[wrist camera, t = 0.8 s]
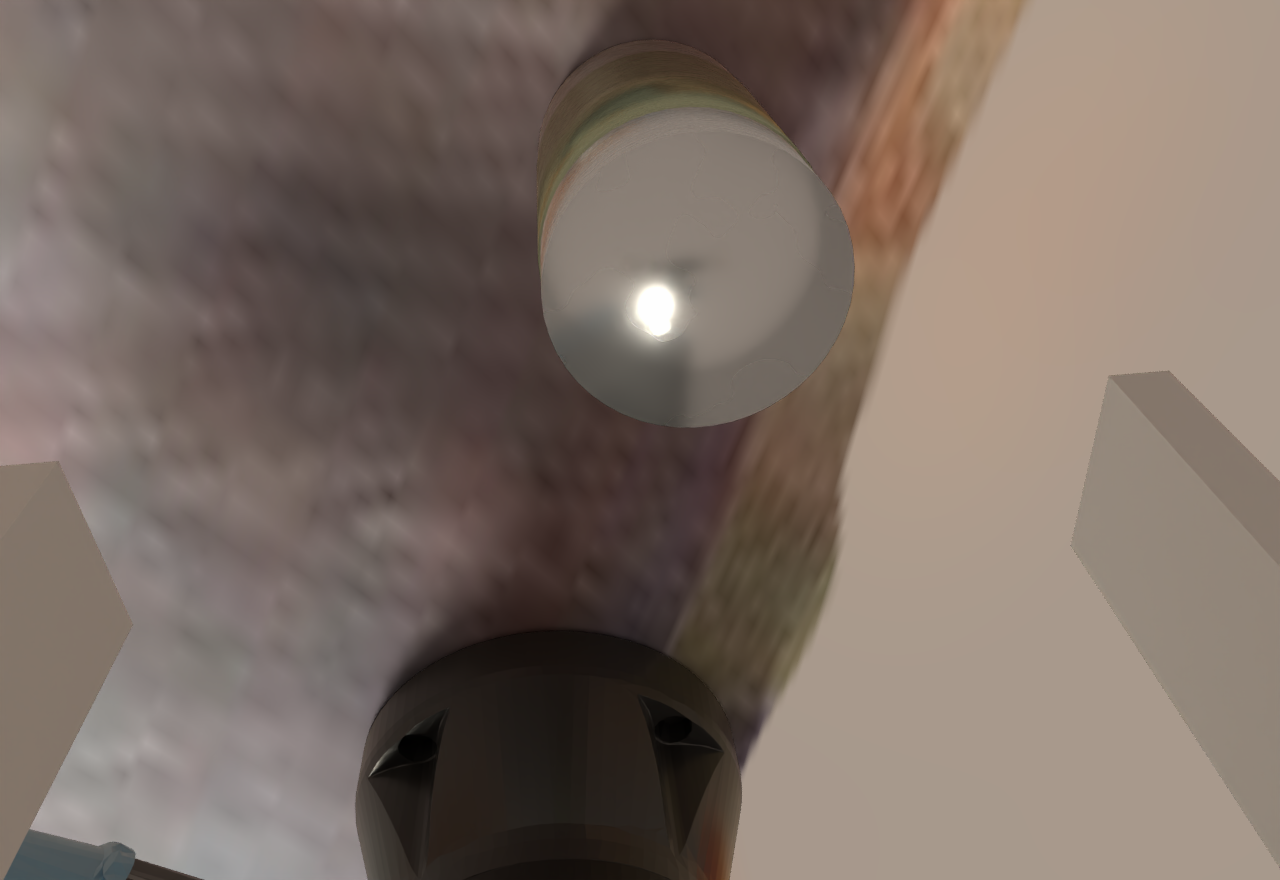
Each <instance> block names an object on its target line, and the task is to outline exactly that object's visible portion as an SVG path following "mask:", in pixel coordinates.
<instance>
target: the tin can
mask: <svg viewBox="0 0 1280 880" xmlns="http://www.w3.org/2000/svg"><path fill="white" fill-rule="evenodd" d="M537 231H538V265H539V273H540V280H541V299H542V307H543V315H544V319H545V323H546V327H547V330H548V334H549V337H550V339H551V341H552V343H553V346H554V348H555V350H556V352H557V354H558V356H559V357H560V359H561V361H562V362H563V364H564V366H565V367H566V369H567V370H568V371H569V372H570V373H571V375H572V376H573V377H574V378H575V380H576V381H577V382H578V383H579V384H580V385H581V386H582V387H583V388H585V389H586V390H587V391H588V392H589V393H590V394H591V395H592V396H594V397H595V398H597V399H598V400H599V401H601V402H602V403H604V404H605V405H607V406H608V407H610V408H612V409H614V410H616V411H618V412H620V413H622V414H624V415H626V416H629V417H632V418H634V419H637V420H640V421H643V422H647V423H652V424H656V425H661V426H669V427H688V428H696V427H705V426H715V425H719V424H724V423H728V422H733V421H736V420H739V419H742V418H744V417H747V416H750V415H753V414H755V413H757V412H759V411H761V410H763V409H765V408H767V407H769V406H771V405H773V404H774V403H776V402H778V401H779V400H781V399H782V398H784V397H786V396H787V395H788V394H789V393H791V392H792V391H793V390H794V389H796V388H797V387H798V386H800V385H801V384H802V383H803V382H804V381H805V380H806V379H807V378H808V377H809V376H810V375H811V374H812V373H813V372H814V371H815V370H816V368H817V367H818V366H819V365H820V363H821V362H822V361H823V360H824V358H825V357H826V356H827V354H828V353H829V351H830V349H831V348H832V346H833V344H834V343H835V341H836V340H837V337H838V335H839V333H840V331H841V329H842V327H843V324H844V322H845V319H846V316H847V313H848V310H849V307H850V303H851V297H852V292H853V286H854V267H855V266H854V255H853V246H852V242H851V238H850V234H849V229H848V226H847V224H846V221H845V219H844V216H843V214H842V211H841V209H840V207H839V206H838V204H837V202H836V201H835V199H834V197H833V196H832V194H831V192H830V191H829V190H828V189H827V187H826V186H825V185H824V184H823V182H822V181H821V180H820V179H819V177H818V176H817V175H816V174H815V172H814V171H813V169H812V167H811V166H810V164H809V162H808V161H807V160H806V159H805V157H804V156H803V155H802V154H801V152H800V151H799V150H798V149H797V147H796V146H795V145H794V144H793V143H792V142H791V140H790V139H789V138H788V137H787V136H786V135H785V133H784V132H783V131H782V130H781V129H780V128H779V126H778V125H777V124H776V123H775V122H774V121H773V119H772V118H771V117H770V116H769V115H768V113H767V112H766V111H765V110H764V109H763V108H762V106H761V105H760V104H759V103H758V102H757V101H756V99H755V98H754V97H753V96H752V95H751V94H750V92H749V91H748V90H747V89H746V88H745V87H744V86H743V85H742V84H741V83H740V82H739V81H738V80H737V79H736V78H735V77H733V75H732V74H731V73H730V72H729V71H728V70H727V69H725V68H724V67H723V66H722V65H721V64H720V63H719V62H717V61H716V60H714V59H713V58H712V57H710V56H709V55H707V54H705V53H703V52H701V51H699V50H697V49H695V48H693V47H690V46H687V45H684V44H681V43H677V42H672V41H667V40H639V41H632V42H628V43H623V44H619V45H617V46H614V47H611V48H609V49H606V50H604V51H602V52H600V53H598V54H597V55H595V56H593V57H591V58H590V59H589V60H587V61H586V62H584V63H583V64H582V65H580V66H579V67H578V68H577V69H576V70H575V71H574V72H573V73H572V74H571V75H570V76H569V77H568V78H567V79H566V80H565V82H564V83H563V84H562V85H561V87H560V88H559V89H558V91H557V92H556V94H555V96H554V97H553V99H552V101H551V102H550V105H549V107H548V109H547V112H546V114H545V116H544V120H543V123H542V127H541V130H540V137H539V143H538V160H537Z"/></svg>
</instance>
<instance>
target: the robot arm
mask: <svg viewBox="0 0 1280 880" xmlns="http://www.w3.org/2000/svg"><path fill="white" fill-rule="evenodd" d="M1071 547H1072V549H1073V550H1074V552H1075V553H1076V555H1077V556H1078V558H1079V559H1080V561H1081V562H1082V564H1083V566H1084V567H1085V568H1086V570H1087V572H1088V573H1089V575H1090V576H1091V578H1092V579H1093V581H1094V582H1095V584H1096V586H1097V587H1098V589H1099V590H1100V592H1101V593H1102V595H1103V596H1104V598H1105V599H1106V601H1107V603H1108V604H1109V606H1110V607H1111V609H1112V610H1113V612H1114V613H1115V615H1116V616H1117V618H1118V619H1119V621H1120V623H1121V624H1122V626H1123V627H1124V629H1125V630H1126V632H1127V633H1128V635H1129V636H1130V638H1131V640H1132V641H1133V643H1134V644H1135V646H1136V647H1137V649H1138V650H1139V652H1140V653H1141V655H1142V656H1143V658H1144V660H1145V661H1146V663H1147V664H1148V666H1149V667H1150V669H1151V670H1152V672H1153V673H1154V675H1155V677H1156V678H1157V679H1158V681H1159V683H1160V684H1161V686H1162V687H1163V689H1164V690H1165V692H1166V693H1167V695H1168V697H1169V698H1170V700H1171V701H1172V703H1173V704H1174V706H1175V707H1176V709H1177V710H1178V712H1179V714H1180V715H1181V717H1182V718H1183V720H1184V721H1185V723H1186V724H1187V725H1188V727H1189V729H1190V730H1191V732H1192V734H1193V735H1194V736H1195V738H1196V740H1197V741H1198V743H1199V744H1200V746H1201V747H1202V749H1203V751H1204V752H1205V753H1206V755H1207V757H1208V758H1209V760H1210V761H1211V763H1212V764H1213V766H1214V767H1215V769H1216V771H1217V772H1218V774H1219V775H1220V777H1221V778H1222V780H1223V781H1224V783H1225V784H1226V786H1227V788H1228V789H1229V790H1230V792H1231V794H1232V795H1233V797H1234V798H1235V800H1236V801H1237V803H1238V804H1239V806H1240V807H1241V809H1242V811H1243V812H1244V814H1245V815H1246V817H1247V818H1248V820H1249V821H1250V823H1251V824H1252V826H1253V827H1254V829H1255V831H1256V832H1257V834H1258V835H1259V837H1260V838H1261V840H1262V841H1263V843H1264V845H1265V846H1266V848H1267V849H1268V851H1269V852H1270V854H1271V855H1272V857H1273V858H1274V860H1275V861H1276V863H1277V865H1278V866H1279V868H1280V481H1279V480H1278V479H1277V478H1276V477H1275V476H1274V475H1273V474H1272V473H1271V472H1270V471H1269V470H1268V469H1267V468H1266V467H1264V465H1263V464H1262V463H1261V462H1260V461H1259V460H1258V459H1257V458H1256V457H1254V455H1253V454H1252V453H1251V452H1250V451H1249V450H1248V449H1247V448H1246V447H1245V446H1244V445H1243V444H1242V443H1241V442H1240V441H1239V440H1238V439H1237V438H1236V437H1235V436H1234V435H1233V434H1232V433H1231V432H1230V431H1229V430H1228V429H1227V428H1226V427H1225V426H1224V425H1223V424H1222V423H1221V422H1220V421H1219V420H1218V419H1216V417H1214V415H1212V413H1211V412H1210V411H1209V410H1208V409H1207V408H1205V406H1204V405H1203V404H1202V403H1201V402H1199V400H1198V399H1197V398H1195V396H1194V395H1193V394H1192V393H1191V392H1190V391H1189V390H1188V389H1186V387H1185V386H1184V385H1183V384H1182V383H1181V382H1180V381H1179V380H1177V378H1176V377H1175V376H1174V375H1173V374H1172V373H1171V372H1170V371H1161V372H1148V373H1136V374H1124V375H1111V376H1109V377H1108V382H1107V387H1106V390H1105V395H1104V399H1103V404H1102V408H1101V413H1100V417H1099V421H1098V426H1097V431H1096V435H1095V439H1094V444H1093V448H1092V452H1091V457H1090V461H1089V466H1088V470H1087V475H1086V479H1085V483H1084V488H1083V492H1082V497H1081V501H1080V506H1079V510H1078V515H1077V519H1076V523H1075V528H1074V533H1073V537H1072V541H1071ZM132 626H133V624H132V621H131V619H130V617H129V615H128V613H127V610H126V608H125V606H124V604H123V602H122V599H121V597H120V595H119V593H118V591H117V588H116V586H115V584H114V582H113V580H112V577H111V575H110V573H109V571H108V569H107V566H106V564H105V562H104V560H103V558H102V555H101V553H100V551H99V549H98V547H97V545H96V542H95V540H94V538H93V536H92V534H91V531H90V529H89V527H88V525H87V523H86V520H85V518H84V516H83V514H82V512H81V509H80V507H79V505H78V503H77V501H76V498H75V496H74V494H73V492H72V490H71V487H70V485H69V483H68V481H67V479H66V476H65V474H64V472H63V470H62V468H61V466H60V463H59V461H56V462H44V463H32V464H20V465H7V466H0V880H203V879H200V878H197V877H193V876H190V875H187V874H184V873H180V872H177V871H174V870H171V869H167V868H164V867H161V866H158V865H155V864H151V863H148V862H145V861H142V860H138V859H135V852H134V850H132V849H131V848H129V847H127V846H125V845H123V844H122V843H118V842H109V843H106V844H103V845H100V846H95V845H91V844H87V843H83V842H79V841H75V840H71V839H67V838H63V837H59V836H55V835H51V834H47V833H43V832H39V831H35V830H31V829H29V828H30V826H31V824H32V822H33V821H34V819H35V817H36V815H37V813H38V811H39V809H40V807H41V805H42V803H43V801H44V799H45V797H46V795H47V793H48V791H49V789H50V787H51V785H52V783H53V781H54V779H55V777H56V775H57V773H58V771H59V769H60V767H61V765H62V763H63V761H64V759H65V758H66V756H67V754H68V752H69V750H70V748H71V746H72V744H73V742H74V740H75V738H76V736H77V734H78V732H79V730H80V728H81V726H82V724H83V722H84V720H85V718H86V716H87V714H88V712H89V710H90V708H91V706H92V704H93V702H94V700H95V698H96V696H97V695H98V693H99V691H100V689H101V687H102V685H103V683H104V681H105V679H106V677H107V675H108V673H109V671H110V669H111V667H112V665H113V663H114V661H115V659H116V657H117V655H118V653H119V651H120V649H121V647H122V645H123V643H124V641H125V639H126V637H127V635H128V634H129V632H130V630H131V628H132ZM741 803H742V784H741V774H740V769H739V764H738V760H737V755H736V751H735V746H734V742H733V737H732V732H731V729H730V726H729V722H728V720H727V717H726V715H725V713H724V711H723V709H722V707H721V706H720V704H719V702H718V701H717V699H716V698H715V697H714V695H713V694H712V693H711V691H710V690H709V689H708V688H707V687H706V686H705V685H704V684H703V683H702V682H701V681H700V680H699V679H698V678H697V677H696V676H695V675H694V674H692V673H691V672H690V671H689V670H687V669H686V668H684V667H683V666H682V665H680V664H679V663H677V662H675V661H674V660H672V659H670V658H669V657H667V656H665V655H663V654H661V653H659V652H657V651H655V650H652V649H650V648H647V647H645V646H642V645H639V644H636V643H633V642H631V641H627V640H623V639H619V638H616V637H611V636H606V635H600V634H593V633H585V632H572V631H548V632H533V633H524V634H517V635H511V636H506V637H501V638H497V639H493V640H489V641H486V642H482V643H479V644H476V645H473V646H470V647H467V648H465V649H462V650H460V651H457V652H455V653H453V654H451V655H449V656H447V657H445V658H443V659H441V660H439V661H437V662H435V663H434V664H432V665H430V666H429V667H427V668H426V669H424V670H423V671H421V672H419V673H418V674H417V675H415V676H414V677H413V678H412V679H410V680H409V681H408V682H407V683H406V684H404V685H403V686H402V687H401V688H400V689H399V690H398V691H397V692H396V693H395V694H394V695H393V696H392V697H391V698H390V700H389V701H388V702H387V703H386V705H385V706H384V707H383V708H382V710H381V711H380V713H379V715H378V716H377V718H376V720H375V721H374V723H373V725H372V727H371V729H370V732H369V734H368V737H367V740H366V743H365V747H364V752H363V758H362V763H361V769H360V774H359V780H358V786H357V791H356V802H355V810H356V826H357V832H358V837H359V841H360V846H361V851H362V855H363V860H364V864H365V869H366V874H367V878H368V880H729V879H730V873H731V867H732V861H733V855H734V848H735V842H736V836H737V830H738V824H739V818H740V811H741Z"/></svg>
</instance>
